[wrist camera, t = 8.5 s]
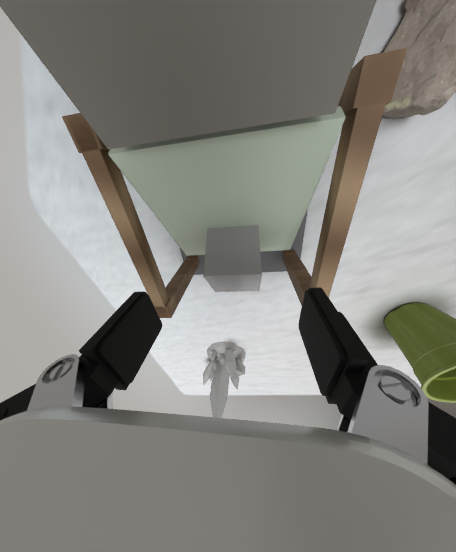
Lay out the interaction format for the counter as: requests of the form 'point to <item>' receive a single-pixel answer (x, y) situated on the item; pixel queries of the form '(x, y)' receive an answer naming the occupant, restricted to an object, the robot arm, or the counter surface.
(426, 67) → the concrete fragment
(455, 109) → the counter surface
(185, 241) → the trapdoor
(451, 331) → the plant pot
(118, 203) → the frame
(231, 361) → the crystal
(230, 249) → the stone block
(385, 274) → the counter surface
